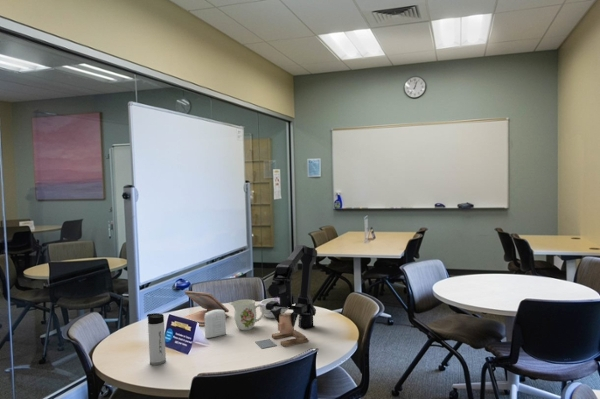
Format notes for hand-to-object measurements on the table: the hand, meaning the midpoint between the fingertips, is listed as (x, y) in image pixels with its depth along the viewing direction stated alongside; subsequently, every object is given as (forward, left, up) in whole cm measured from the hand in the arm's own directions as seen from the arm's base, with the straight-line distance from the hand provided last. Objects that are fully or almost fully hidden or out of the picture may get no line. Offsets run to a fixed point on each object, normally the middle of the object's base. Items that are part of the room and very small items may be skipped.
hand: (286, 325), depth 197 cm
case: (+26, -53, -7) cm, 60 cm away
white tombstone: (+27, -23, -7) cm, 36 cm away
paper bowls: (-9, -38, -7) cm, 40 cm away
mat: (+10, 0, -7) cm, 12 cm away
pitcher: (+10, -26, -7) cm, 29 cm away
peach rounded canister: (+1, +1, -3) cm, 3 cm away
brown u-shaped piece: (-1, 0, -7) cm, 7 cm away
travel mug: (+56, -4, -7) cm, 57 cm away
